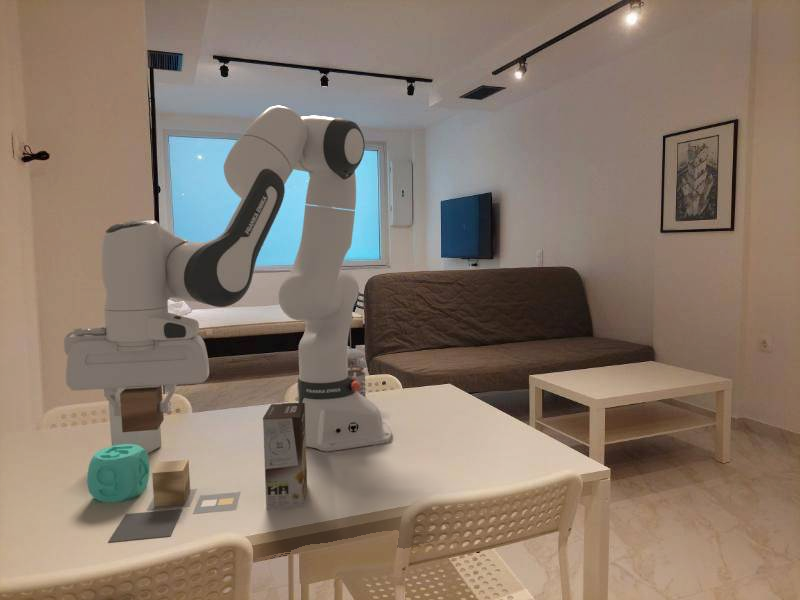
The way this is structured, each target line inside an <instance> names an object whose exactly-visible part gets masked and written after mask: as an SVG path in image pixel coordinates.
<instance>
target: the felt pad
mask: <svg viewBox="0 0 800 600" xmlns="http://www.w3.org/2000/svg"><path fill="white" fill-rule="evenodd" d="M182 512H183V508H177V509H167V510H166V509H165V510H154V511H146V512H145V511H144V512H131V513H125V514H124V516H123V518H122V519H121V521H120V522H119V524H118V525H117V527H116V528H115V530H114V531H113V534H112V535H111V536H110V538H109V540H108V541H107V543H109V544H110V543H118V542H119V543H120V542H130V541H137V540H138V541H142V540H148V539H150V540H151V539H161V538H169V537H171V536H172V534H173V533H174V530H175V528H176V525H177V523H178V521H179V519H180V516H181V514H182Z"/></svg>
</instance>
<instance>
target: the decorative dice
mask: <svg viewBox="0 0 800 600" xmlns="http://www.w3.org/2000/svg"><path fill="white" fill-rule="evenodd" d="M149 457H150V456H149V453H148V454H147V452H146V451H145V450H144V449H143V448H142V447H141V446H139V445H135V444H122V445H115V446H112V445H111V446H108V447H104V448H102V449H100V450H98V451H96V452H95V453H94V455H93V456H92V458H91V459H90V461H89V466H88V468H87V469H88V470H87V479H86V481H87V489H88V492H89V494H90V495H91V496H92V497H93V498H94V499H95V500H96V501H99V502H101V503H118V502H124V501H127V500H130V499H134V498H136V497H139V496H140V495H141V494H143V493H144V491H145V490H147V489H146V488H147V486H148V483H149V477H150V458H149Z"/></svg>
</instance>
